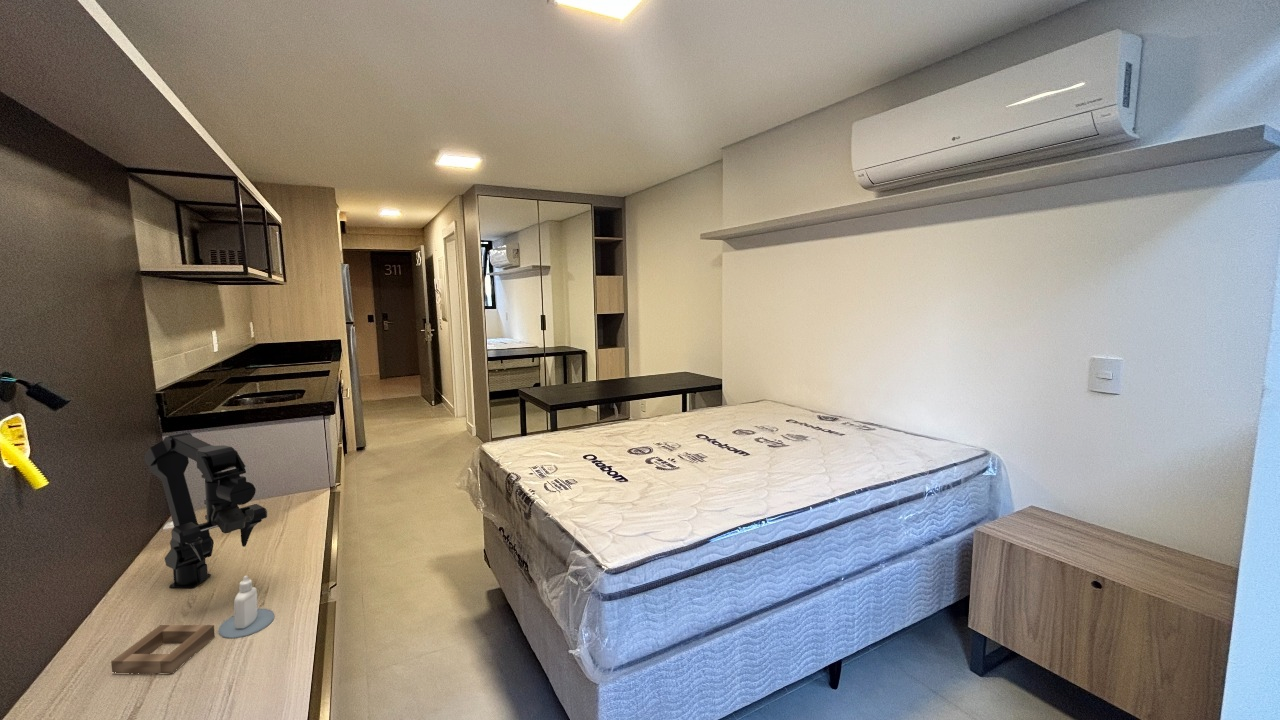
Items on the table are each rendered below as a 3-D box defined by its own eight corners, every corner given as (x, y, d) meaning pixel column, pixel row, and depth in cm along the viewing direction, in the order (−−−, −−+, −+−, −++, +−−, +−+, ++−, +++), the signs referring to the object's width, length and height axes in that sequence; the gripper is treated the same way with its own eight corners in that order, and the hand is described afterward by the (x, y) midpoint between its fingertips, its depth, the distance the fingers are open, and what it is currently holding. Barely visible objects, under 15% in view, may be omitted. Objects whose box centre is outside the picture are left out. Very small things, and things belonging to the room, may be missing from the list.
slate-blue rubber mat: (206, 638, 121) (206, 636, 121) (239, 609, 131) (239, 608, 131) (255, 638, 121) (255, 636, 121) (284, 610, 132) (284, 608, 132)
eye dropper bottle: (264, 618, 128) (263, 573, 127) (239, 631, 123) (238, 584, 121) (252, 614, 129) (252, 569, 128) (227, 626, 124) (227, 579, 123)
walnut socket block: (112, 674, 108) (111, 661, 108) (161, 636, 120) (160, 625, 120) (172, 674, 109) (171, 661, 109) (214, 636, 121) (214, 625, 121)
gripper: (187, 516, 120) (191, 578, 122) (276, 492, 136) (278, 547, 138) (168, 505, 125) (172, 564, 127) (256, 483, 141) (258, 536, 143)
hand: (223, 553), depth 134 cm, fingers open, 9 cm apart
